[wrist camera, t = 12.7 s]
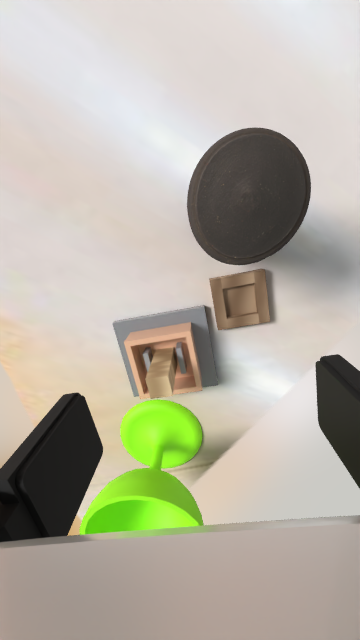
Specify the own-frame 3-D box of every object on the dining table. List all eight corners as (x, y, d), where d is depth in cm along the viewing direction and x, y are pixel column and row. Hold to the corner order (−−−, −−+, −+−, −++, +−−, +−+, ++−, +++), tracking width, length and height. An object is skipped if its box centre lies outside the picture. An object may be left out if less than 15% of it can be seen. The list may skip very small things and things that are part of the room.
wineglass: (115, 457, 51) (75, 568, 34) (125, 391, 46) (84, 483, 29) (192, 473, 51) (191, 592, 34) (211, 409, 46) (220, 511, 29)
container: (265, 217, 35) (347, 193, 16) (219, 264, 38) (243, 290, 19) (223, 170, 34) (258, 82, 15) (177, 222, 36) (158, 203, 17)
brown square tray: (262, 268, 37) (264, 269, 36) (267, 318, 40) (269, 321, 38) (209, 278, 38) (209, 280, 37) (217, 326, 41) (218, 330, 39)
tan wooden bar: (173, 346, 40) (167, 375, 32) (177, 363, 41) (172, 395, 33) (155, 349, 41) (145, 379, 32) (159, 365, 42) (150, 398, 33)
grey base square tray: (204, 305, 40) (205, 314, 35) (217, 381, 44) (220, 399, 39) (114, 321, 41) (103, 332, 36) (135, 392, 46) (128, 411, 41)
